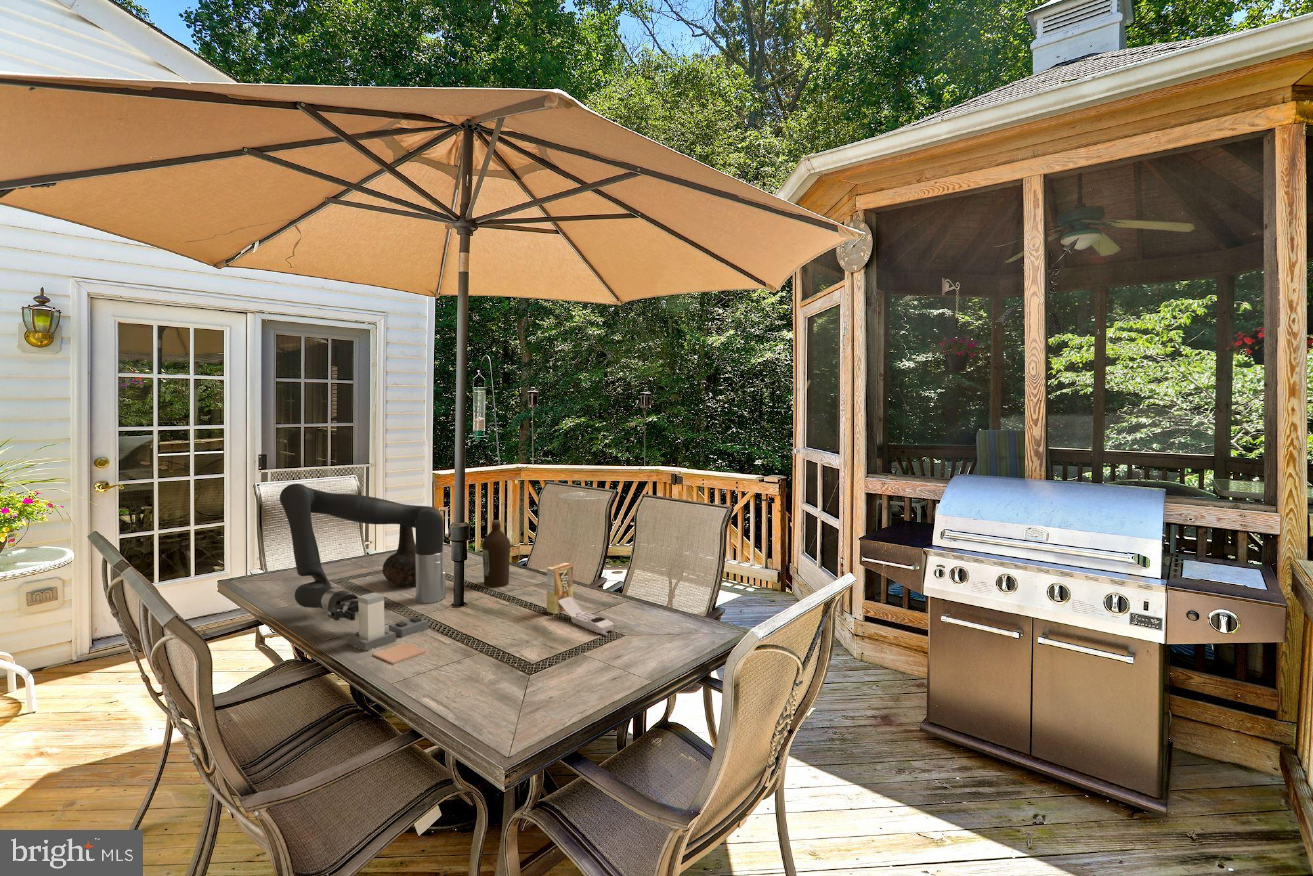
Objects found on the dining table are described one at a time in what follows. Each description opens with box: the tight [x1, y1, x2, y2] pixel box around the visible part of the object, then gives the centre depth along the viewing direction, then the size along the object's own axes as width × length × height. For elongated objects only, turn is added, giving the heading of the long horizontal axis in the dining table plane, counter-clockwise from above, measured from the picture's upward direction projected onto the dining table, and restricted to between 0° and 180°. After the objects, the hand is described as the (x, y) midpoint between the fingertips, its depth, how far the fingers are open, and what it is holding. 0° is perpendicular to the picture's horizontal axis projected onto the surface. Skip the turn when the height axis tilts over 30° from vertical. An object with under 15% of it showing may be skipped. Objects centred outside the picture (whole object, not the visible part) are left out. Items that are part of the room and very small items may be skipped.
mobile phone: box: [558, 597, 614, 637], centre depth 199 cm, size 6×6×25 cm
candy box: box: [546, 562, 574, 615], centre depth 213 cm, size 9×4×15 cm, turn 145°
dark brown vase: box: [382, 524, 416, 587], centre depth 242 cm, size 18×18×28 cm
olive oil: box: [481, 519, 511, 588], centre depth 242 cm, size 11×11×25 cm
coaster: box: [372, 642, 427, 665], centre depth 175 cm, size 10×10×1 cm
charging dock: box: [347, 616, 429, 652], centre depth 188 cm, size 21×9×3 cm, turn 145°
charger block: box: [357, 592, 386, 641], centre depth 183 cm, size 5×5×14 cm
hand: (368, 613), depth 183 cm, fingers open, 8 cm apart
